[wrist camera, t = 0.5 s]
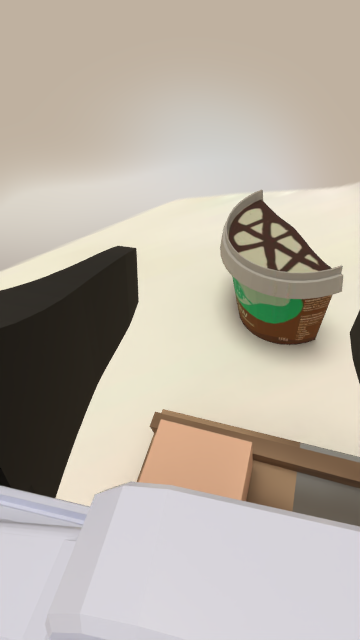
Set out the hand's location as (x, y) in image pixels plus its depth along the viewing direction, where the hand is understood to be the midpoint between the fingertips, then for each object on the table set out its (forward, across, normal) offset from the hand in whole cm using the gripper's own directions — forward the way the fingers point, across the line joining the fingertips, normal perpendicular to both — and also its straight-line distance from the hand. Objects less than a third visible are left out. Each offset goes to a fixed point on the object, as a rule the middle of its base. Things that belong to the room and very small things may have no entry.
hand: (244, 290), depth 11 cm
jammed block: (+3, 0, +18) cm, 19 cm away
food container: (+19, -3, +15) cm, 24 cm away
